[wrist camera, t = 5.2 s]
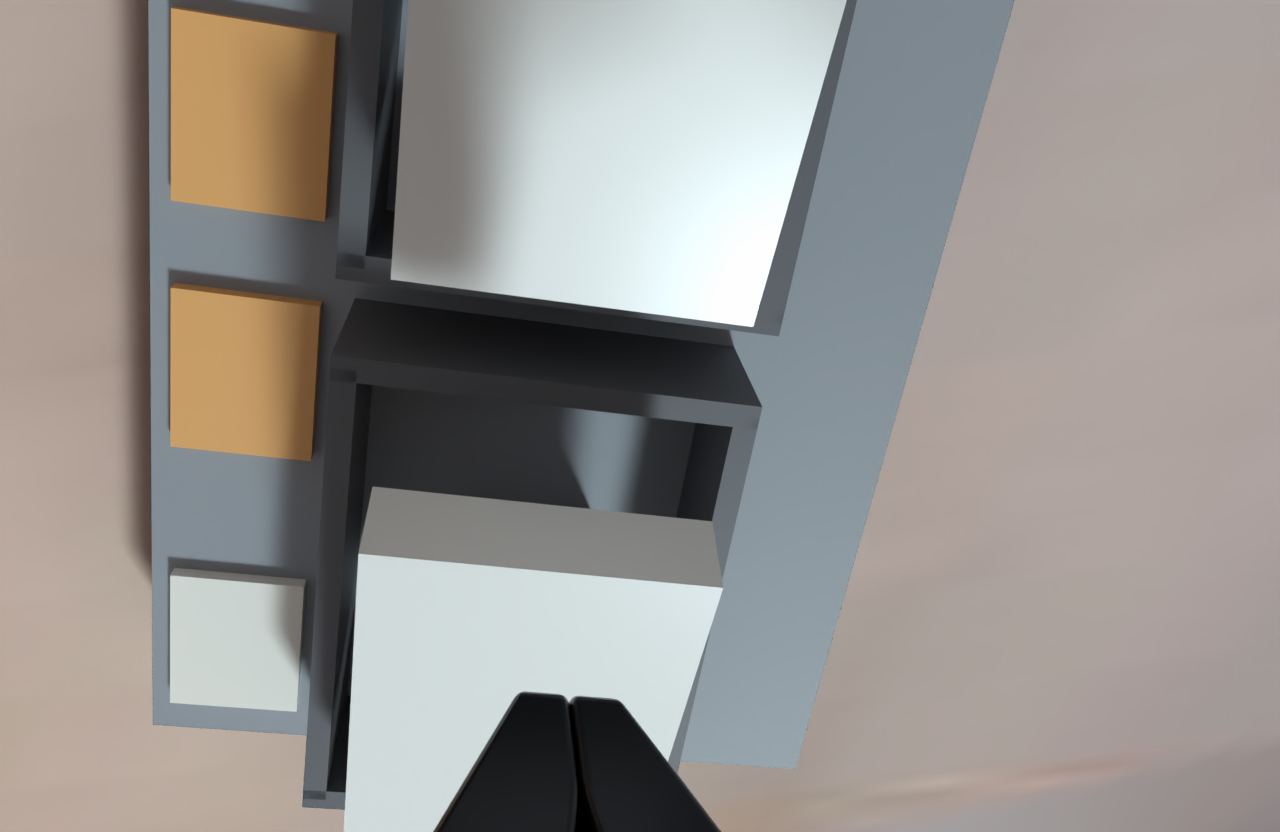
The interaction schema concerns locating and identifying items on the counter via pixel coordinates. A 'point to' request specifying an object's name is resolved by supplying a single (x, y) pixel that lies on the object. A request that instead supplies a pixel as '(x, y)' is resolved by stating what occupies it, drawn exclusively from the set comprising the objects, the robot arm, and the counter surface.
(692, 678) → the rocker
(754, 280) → the middle rocker
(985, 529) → the counter surface
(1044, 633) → the counter surface
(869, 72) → the switch panel
